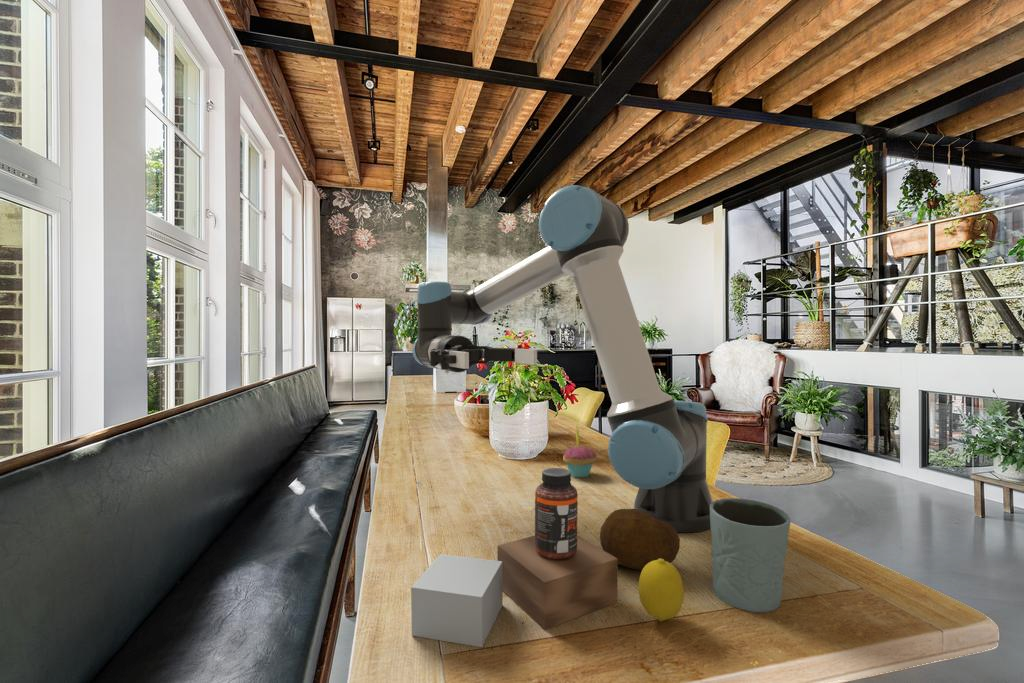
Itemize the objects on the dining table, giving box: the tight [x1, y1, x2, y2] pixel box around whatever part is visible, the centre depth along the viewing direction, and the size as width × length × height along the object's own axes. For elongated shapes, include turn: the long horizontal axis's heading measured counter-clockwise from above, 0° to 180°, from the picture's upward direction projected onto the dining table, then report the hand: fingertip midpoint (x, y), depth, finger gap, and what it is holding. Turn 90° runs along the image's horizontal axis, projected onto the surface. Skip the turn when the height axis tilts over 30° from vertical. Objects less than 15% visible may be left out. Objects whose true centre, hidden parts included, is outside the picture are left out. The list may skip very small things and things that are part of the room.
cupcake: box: [562, 425, 598, 479], centre depth 124 cm, size 9×8×12 cm
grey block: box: [410, 553, 504, 648], centre depth 63 cm, size 9×9×6 cm
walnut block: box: [496, 534, 619, 631], centre depth 69 cm, size 12×12×6 cm
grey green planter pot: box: [710, 497, 791, 613], centre depth 69 cm, size 10×10×12 cm
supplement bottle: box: [534, 467, 579, 559], centre depth 69 cm, size 6×6×11 cm
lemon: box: [637, 558, 685, 623], centre depth 63 cm, size 6×6×8 cm
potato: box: [599, 508, 681, 571], centre depth 77 cm, size 8×12×9 cm
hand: (502, 358), depth 85 cm, fingers open, 13 cm apart
